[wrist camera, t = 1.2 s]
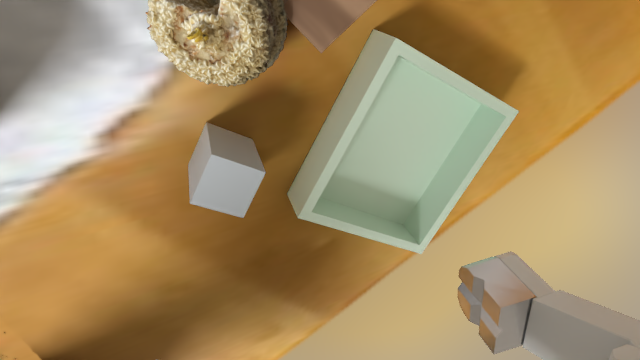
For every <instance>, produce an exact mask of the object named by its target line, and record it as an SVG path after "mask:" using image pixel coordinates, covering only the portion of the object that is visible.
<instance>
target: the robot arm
mask: <svg viewBox="0 0 640 360" xmlns="http://www.w3.org/2000/svg"><path fill="white" fill-rule="evenodd" d="M459 278H460V279H461V280H462V283H461V285H460V286H459V287H458V300H459V303H460V306H461V308H462V311H463V313H464V314H465V316H466V317H467V319H468V320H469V321H470V322H472V323H474V324H476V325H479V335H480V337H481V338H482V339H483V340H484V342H485V343H486V345H487V346H488V347H489V349H490V350H491V351H492V353H493V354H497V353H500V352H503V351H506V350H509V349H513V348H516V347H519V346H522V345H523V348H525V349H526V350H528V351H530V352H532V353H533V354H535V355H536V356H538V357H540V358H541V359H543V360H640V320H637V319H635V318H632V317H629V316H627V315H624V314H622V313H619V312H616V311H614V310H611V309H609V308H606V307H603V306H601V305H598V304H595V303H593V302H590V301H587V300H585V299H582V298H580V297H577V296H574V295H572V294H569V293H566V292H564V291H561V290H559V291H554V290H553V289H552V288H551V287H550V286H549V285H548V284H547V283H546V282H545V281H544V280H543V279H542V278H541V277H540V276H539V275H538V274H537V273H535V272H534V271H533V270H532V269H531V268H530V267H529V266H528V265H527V264H526V263H525V262H524V261H523V260H522V259H521V258H520V257H519V256H518V255H516V254H515V253H513V252H508V253H504V254H501V255H497V256H494V257H490V258H487V259H484V260H480V261H477V262H474V263H471V264H468V265H465V266H462V267H461V268H460V270H459ZM157 360H161V359H157Z"/></svg>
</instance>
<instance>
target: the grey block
mask: <svg viewBox="0 0 640 360" xmlns="http://www.w3.org/2000/svg"><path fill="white" fill-rule="evenodd" d="M188 172H189V196H190V204H193V205H197V206H201V207H204V208H208V209H212V210H215V211H219V212H223V213H226V214H230V215H234V216H237V217H241V218H244V216H245V214H246V212H247V210H248V208H249V206H250V204H251V201H252V199H253V197H254V195H255V193H256V191H257V189H258V187H259V185H260V183H261V181H262V179H263V177H264V175H265V173H266V172H265V169H264V167H263V164H262V162H261V159H260V157H259V154H258V152H257V149H256V147H255V144H254V142H253V139H251V138H248V137H245V136H242V135H240V134H237V133H234V132H232V131H229V130H226V129H224V128H221V127H218V126H216V125H213V124H210V123H207V122H206V124H205V126H204V129H203V131H202V133H201V136H200V138H199V140H198V143H197V145H196V148H195V150H194V152H193V155H192V157H191V159H190V162H189V164H188Z"/></svg>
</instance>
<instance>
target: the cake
mask: <svg viewBox="0 0 640 360" xmlns="http://www.w3.org/2000/svg"><path fill="white" fill-rule="evenodd" d="M148 6H149V10H148V12H146V14H147V17H148V18H147V22H148V23H149V24H150V27H148V28H147V29H149V30H150V35H151V39H153V40H155V42H156V44H157V46H158V51H159V52H163V53H164V55H165V56H167V57H168V59H169V60H168V61H170V62H173V64H174V65H175V66H176V67H177V68H178V70H179V71H182V72H185V73H186V74H188V75H189V76H190V77H193V78H194V79H197V80H199V81H200V82H201V81H202V82H205V83H206V84H210V83H213V84H216V83H217V84H218V85H219V86H227V87H228V86H229V85H234V86H236V85H237V84H238V85H240V84H245V83H246V81H247V80H248V79H249V80H252V79H253V78H256V77H258V76H259V74H260V73H261V72H265V71H266V69H267V68H269V67H271V66H272V65H273V64H274V62H275V60H276V59H277V58H278V57H279V54H280V52H281V51H282V50H283V48H284V41H285V38H286V37H287V36H286V35H287V33H286V31H287V25H288V23H287V13H286V10H285V7H284V6H285V5H284V1H283V0H148ZM203 35H204V36H203ZM205 35H206V36H205Z"/></svg>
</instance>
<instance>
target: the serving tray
mask: <svg viewBox="0 0 640 360" xmlns="http://www.w3.org/2000/svg"><path fill="white" fill-rule="evenodd" d="M518 112H519V111H518V110H516V109H514V108H513V107H511V106H509V105H508V104H506V103H504V102H503V101H501V100H499V99H498V98H496V97H494V96H493V95H491V94H489V93H488V92H486V91H484V90H483V89H481V88H479V87H478V86H476V85H474V84H473V83H471V82H469V81H468V80H466V79H464V78H463V77H461V76H459V75H458V74H456V73H454V72H453V71H451V70H449V69H447V68H446V67H444V66H442V65H441V64H439V63H437V62H436V61H434V60H432V59H431V58H429V57H427V56H426V55H424V54H422V53H421V52H419V51H417V50H416V49H414V48H412V47H411V46H409V45H407V44H406V43H404V42H402V41H401V40H399V39H397V38H396V37H393V36H390V35H388V34H385V33H383V32H380V31H377V30H375V29H373V30H372V32H371V34H370V36H369V38H368V40H367V42H366V44H365V46H364V48H363V49H362V51H361V53H360V55H359V57H358V59H357V61H356V63H355V65H354V67H353V69H352V70H351V72H350V74H349V76H348V78H347V80H346V82H345V84H344V86H343V88H342V90H341V91H340V93H339V95H338V97H337V99H336V101H335V103H334V105H333V107H332V109H331V111H330V112H329V114H328V116H327V118H326V120H325V122H324V124H323V126H322V128H321V130H320V132H319V133H318V135H317V137H316V139H315V141H314V143H313V145H312V147H311V149H310V151H309V153H308V155H307V156H306V158H305V160H304V162H303V164H302V166H301V168H300V170H299V172H298V174H297V176H296V177H295V179H294V181H293V183H292V185H291V187H290V189H289V191H288V193H287V195H288V198H289V200H290V202H291V204H292V206H293V209H294V211H295V213H296V215H297V218H300V219H303V220H306V221H310V222H313V223H317V224H320V225H324V226H327V227H330V228H334V229H337V230H341V231H344V232H348V233H351V234H354V235H358V236H361V237H365V238H368V239H372V240H375V241H378V242H382V243H385V244H389V245H392V246H396V247H399V248H402V249H406V250H409V251H413V252H416V253H420V254H422V253H423V251H424V250H425V248H426V247H427V245H428V244H429V242H430V241H431V239H432V238H433V237H434V235H435V234H436V232H437V231H438V229H439V228H440V226H441V225H442V223H443V222H444V220H445V219H446V218H447V216H448V215H449V213H450V212H451V210H452V209H453V207H454V206H455V204H456V203H457V201H458V200H459V198H460V197H461V196H462V194H463V193H464V191H465V190H466V188H467V187H468V185H469V184H470V182H471V181H472V179H473V178H474V176H475V175H476V174H477V172H478V171H479V169H480V168H481V166H482V165H483V163H484V162H485V160H486V159H487V157H488V156H489V155H490V153H491V152H492V150H493V149H494V147H495V146H496V144H497V143H498V141H499V140H500V138H501V137H502V135H503V134H504V133H505V131H506V130H507V128H508V127H509V125H510V124H511V122H512V121H513V119H514V118H515V116H516V115H517V114H518Z"/></svg>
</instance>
